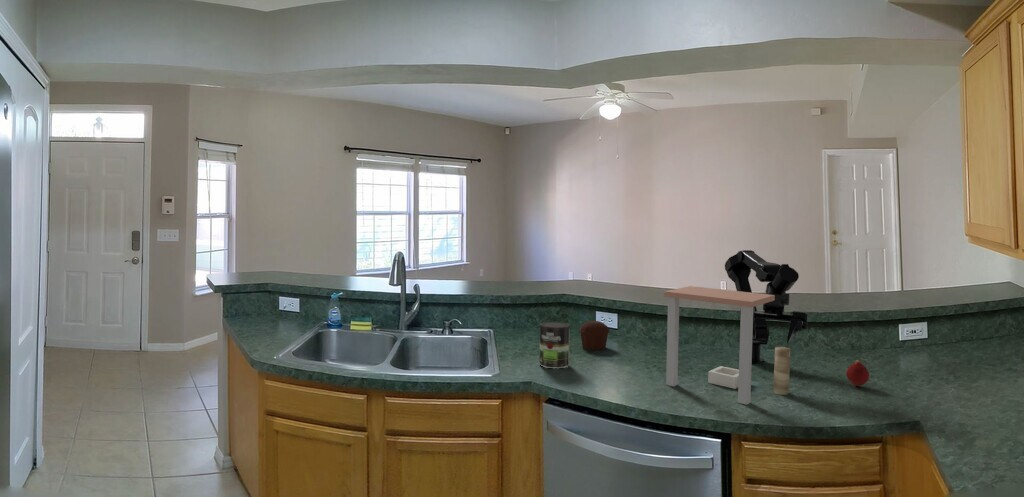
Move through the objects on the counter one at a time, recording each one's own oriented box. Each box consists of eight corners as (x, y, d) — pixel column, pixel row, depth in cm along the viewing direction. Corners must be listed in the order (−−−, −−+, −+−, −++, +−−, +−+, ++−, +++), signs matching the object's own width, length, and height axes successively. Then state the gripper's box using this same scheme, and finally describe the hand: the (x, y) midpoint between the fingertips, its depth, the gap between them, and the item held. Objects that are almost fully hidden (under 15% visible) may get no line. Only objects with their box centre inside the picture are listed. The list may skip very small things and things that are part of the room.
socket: (720, 376, 180) (720, 366, 179) (746, 382, 174) (747, 371, 173) (708, 382, 174) (708, 371, 173) (735, 388, 168) (735, 377, 167)
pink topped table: (688, 373, 183) (690, 286, 181) (771, 392, 164) (774, 295, 162) (662, 384, 172) (664, 291, 169) (748, 406, 153) (751, 301, 151)
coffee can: (564, 370, 186) (564, 328, 185) (534, 367, 190) (535, 326, 189) (573, 362, 196) (573, 322, 195) (544, 359, 200) (545, 320, 198)
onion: (865, 384, 172) (867, 358, 171) (870, 390, 166) (872, 363, 166) (843, 382, 174) (845, 357, 173) (848, 388, 168) (849, 361, 168)
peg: (776, 389, 167) (778, 346, 166) (790, 392, 164) (792, 348, 164) (771, 392, 164) (772, 348, 164) (785, 395, 162) (787, 351, 161)
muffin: (577, 350, 212) (578, 324, 212) (579, 343, 223) (579, 318, 222) (610, 352, 210) (610, 325, 210) (609, 344, 221) (610, 319, 220)
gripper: (741, 281, 178) (735, 322, 170) (808, 285, 169) (806, 330, 161) (743, 301, 186) (738, 342, 177) (808, 306, 177) (805, 350, 168)
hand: (770, 340), depth 171 cm, fingers open, 9 cm apart
